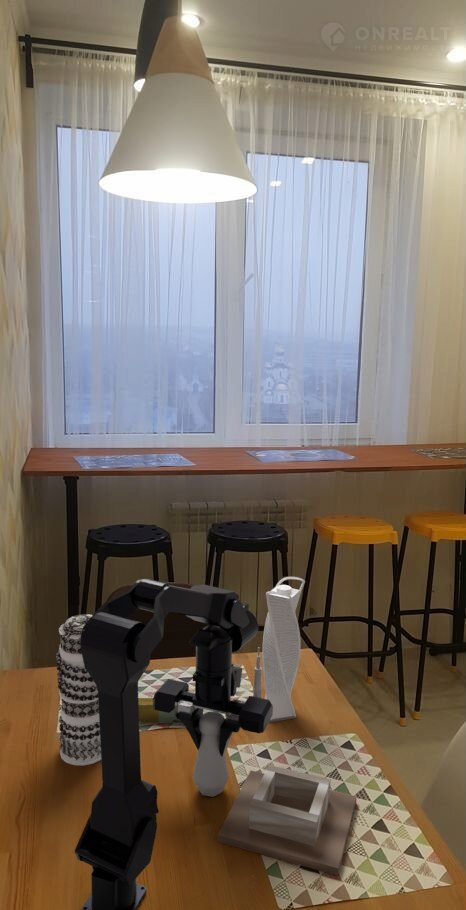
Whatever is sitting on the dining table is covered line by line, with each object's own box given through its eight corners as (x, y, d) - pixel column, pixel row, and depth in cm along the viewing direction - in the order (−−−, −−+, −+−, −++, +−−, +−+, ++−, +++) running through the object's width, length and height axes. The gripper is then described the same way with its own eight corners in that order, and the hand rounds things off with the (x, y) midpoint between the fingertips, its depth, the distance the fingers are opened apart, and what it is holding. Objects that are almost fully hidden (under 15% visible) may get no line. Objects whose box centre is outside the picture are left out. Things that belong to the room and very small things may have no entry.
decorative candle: (85, 729, 128) (83, 604, 123) (121, 747, 123) (120, 617, 118) (46, 753, 120) (43, 621, 116) (83, 773, 115) (81, 636, 111)
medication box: (191, 716, 133) (192, 697, 133) (191, 724, 131) (191, 705, 130) (130, 715, 133) (130, 696, 133) (128, 723, 131) (128, 704, 130)
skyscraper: (289, 698, 141) (295, 570, 135) (305, 719, 133) (312, 584, 128) (251, 704, 138) (255, 573, 133) (264, 726, 130) (270, 588, 125)
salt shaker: (223, 803, 108) (225, 728, 106) (188, 797, 109) (190, 723, 107) (231, 779, 114) (233, 708, 111) (198, 774, 115) (199, 704, 113)
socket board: (337, 875, 95) (340, 843, 94) (217, 841, 101) (218, 810, 100) (356, 802, 110) (358, 774, 109) (250, 776, 116) (251, 749, 115)
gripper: (283, 652, 112) (279, 738, 115) (180, 633, 118) (178, 715, 121) (264, 684, 102) (260, 777, 104) (151, 661, 108) (151, 750, 110)
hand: (211, 752), depth 110 cm, fingers closed on salt shaker, 3 cm apart
